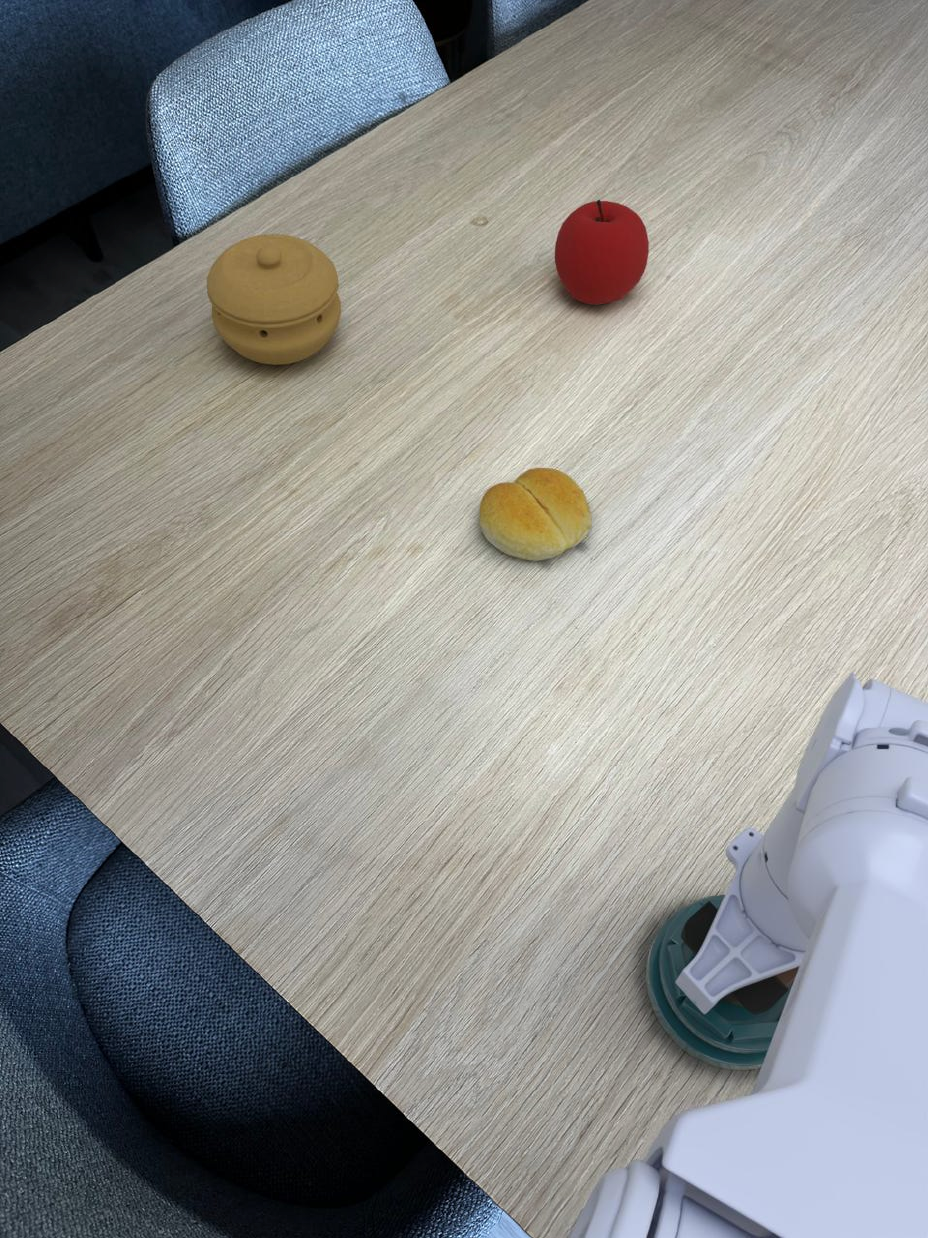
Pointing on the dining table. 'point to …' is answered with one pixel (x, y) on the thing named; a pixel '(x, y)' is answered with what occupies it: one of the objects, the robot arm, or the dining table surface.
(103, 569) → the dining table surface
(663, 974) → the stand
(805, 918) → the robot arm
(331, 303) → the pot
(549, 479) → the bread roll
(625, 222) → the apple
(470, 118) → the dining table surface
